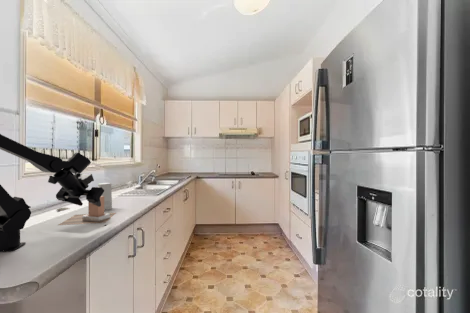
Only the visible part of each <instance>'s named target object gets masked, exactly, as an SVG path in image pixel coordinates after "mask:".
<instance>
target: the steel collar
mask: <svg viewBox="0 0 470 313" xmlns="http://www.w3.org/2000/svg"><path fill="white" fill-rule="evenodd" d="M110 213H111V212H104V215H102V216H99V217H97V216H89V213H87V214H88V215H85V216H82V221H94V222H100V221H103V220H105V219H108V218H110ZM110 219H111V218H110Z"/></svg>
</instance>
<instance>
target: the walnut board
mask: <svg viewBox="0 0 470 313" xmlns="http://www.w3.org/2000/svg"><path fill="white" fill-rule="evenodd" d="M109 213H110V218H108V219H105V220H103V221H100V222H94V221H82V216H85V215H88V214H89V213H85V214H84V213H83V214H74V215H73V216H70V217H68V218H67V219H65V220H64V221H62V222H60V223H58V226H66V225H83V224H84V225H85V224H86V225H87V224H102V223H103V224H104V223H107V222H108V221H109V220H111V218H113V217H114V215H116V214H117V212H109ZM106 226H107V224H105V225H103V227H106Z"/></svg>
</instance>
